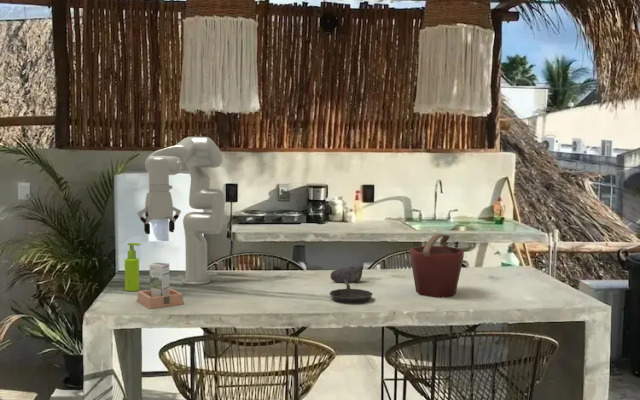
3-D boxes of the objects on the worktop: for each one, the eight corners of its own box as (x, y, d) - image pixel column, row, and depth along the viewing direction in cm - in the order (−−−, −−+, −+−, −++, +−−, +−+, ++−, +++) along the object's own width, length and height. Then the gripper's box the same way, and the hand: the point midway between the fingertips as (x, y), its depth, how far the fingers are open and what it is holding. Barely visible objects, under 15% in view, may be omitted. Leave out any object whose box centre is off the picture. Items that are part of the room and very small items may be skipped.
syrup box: (170, 299, 273) (169, 262, 272) (162, 302, 267) (161, 265, 266) (157, 297, 275) (157, 261, 273) (149, 301, 269) (149, 264, 268)
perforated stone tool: (330, 283, 310) (331, 268, 310) (329, 281, 315) (329, 266, 315) (363, 283, 312) (364, 268, 311) (362, 281, 317) (362, 266, 316)
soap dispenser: (137, 291, 290) (137, 244, 288) (122, 290, 291) (121, 243, 289) (144, 288, 296) (143, 242, 294) (129, 287, 297) (128, 241, 295)
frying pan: (331, 305, 271) (331, 295, 271) (324, 287, 303) (324, 279, 302) (376, 305, 272) (376, 295, 272) (364, 287, 304) (364, 279, 304)
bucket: (433, 284, 310) (434, 229, 308) (475, 293, 294) (477, 235, 292) (398, 293, 293) (400, 234, 291) (441, 302, 277) (443, 240, 275)
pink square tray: (170, 297, 281) (170, 287, 280) (184, 304, 269) (184, 294, 269) (136, 301, 273) (136, 291, 272) (149, 308, 261) (149, 298, 261)
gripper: (176, 187, 275) (176, 230, 277) (133, 189, 265) (134, 233, 267) (183, 188, 269) (184, 232, 270) (140, 190, 259) (141, 235, 261)
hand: (159, 232), depth 269 cm, fingers open, 9 cm apart
